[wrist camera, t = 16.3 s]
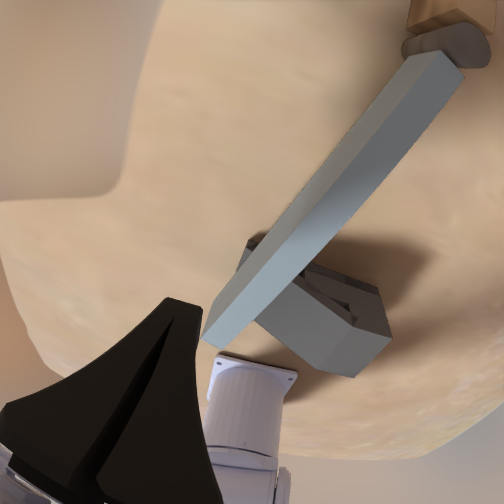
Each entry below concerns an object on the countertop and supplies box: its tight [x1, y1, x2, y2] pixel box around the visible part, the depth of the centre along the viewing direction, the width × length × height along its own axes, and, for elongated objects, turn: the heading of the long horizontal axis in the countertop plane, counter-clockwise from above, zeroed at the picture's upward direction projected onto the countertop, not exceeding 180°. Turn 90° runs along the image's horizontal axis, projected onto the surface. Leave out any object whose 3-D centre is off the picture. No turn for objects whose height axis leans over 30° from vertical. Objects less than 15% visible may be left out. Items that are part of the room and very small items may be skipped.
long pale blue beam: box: [200, 50, 465, 350], centre depth 13 cm, size 19×2×4 cm, turn 147°
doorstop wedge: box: [236, 240, 393, 378], centre depth 18 cm, size 10×4×5 cm, turn 71°
